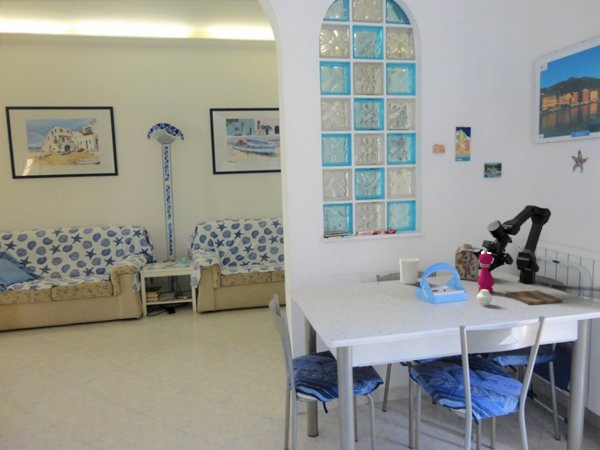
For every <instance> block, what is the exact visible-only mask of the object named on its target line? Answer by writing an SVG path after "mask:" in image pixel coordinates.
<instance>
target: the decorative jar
mask: <svg viewBox="0 0 600 450" xmlns="http://www.w3.org/2000/svg"><path fill="white" fill-rule="evenodd" d="M475 248H476V247H475V246H473V244H472V243H471V244H470V243H463V244H462V246H457V247H455V251H454V253H455V254H454V270H455V269H456V270H457V272H458V274H459V276H460V279H459V280H464V281H465V280H467V281H478V278H479V269H478V267H479V259H478V258H477V257H476V256H475V254H474V253H473V251H474V249H475Z"/></svg>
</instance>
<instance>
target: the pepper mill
mask: <svg viewBox="0 0 600 450" xmlns="http://www.w3.org/2000/svg"><path fill="white" fill-rule="evenodd" d="M483 250H484V253H482V254H480V256H479V261H480V262H481V263H480V266H481V269H480V274H479V275H478V280H477V285H478V286H479V287H478V292H479V293H480V291H481V290H482V289H486V290H488V291H489V293H490V294H491V293H494V288H493V286H494V285H495V280H494V278H493V275H492V271H490V272H489V271H488V269H489V267H490V266H491V264H492V262H493V260H494V258H493V257H492V255H491V254H489V253H488V250H486V249H483Z"/></svg>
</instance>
